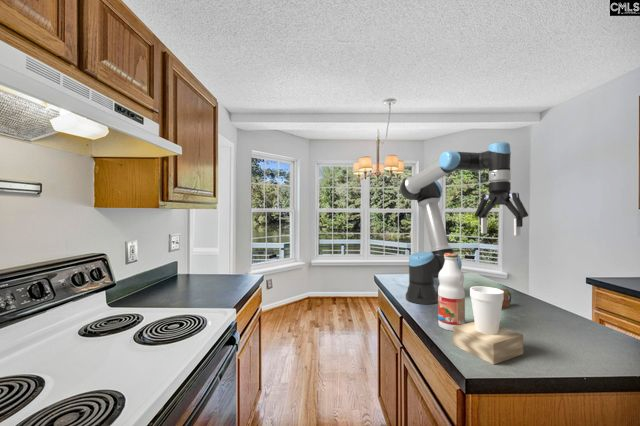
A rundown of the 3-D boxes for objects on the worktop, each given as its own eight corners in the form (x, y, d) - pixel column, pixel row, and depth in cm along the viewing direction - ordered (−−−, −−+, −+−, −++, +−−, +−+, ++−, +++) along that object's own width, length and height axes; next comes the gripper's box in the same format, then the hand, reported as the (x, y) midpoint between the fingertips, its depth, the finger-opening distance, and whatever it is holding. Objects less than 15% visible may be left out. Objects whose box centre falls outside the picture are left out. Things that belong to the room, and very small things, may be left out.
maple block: (453, 344, 97) (452, 326, 97) (481, 336, 103) (481, 319, 103) (493, 364, 85) (493, 343, 85) (523, 354, 91) (523, 334, 91)
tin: (491, 311, 129) (491, 292, 129) (485, 309, 131) (484, 291, 131) (512, 306, 136) (511, 288, 136) (505, 304, 138) (504, 286, 138)
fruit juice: (469, 331, 108) (469, 255, 108) (444, 332, 108) (443, 255, 108) (458, 322, 117) (457, 252, 117) (434, 322, 117) (433, 252, 117)
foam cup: (503, 339, 88) (503, 295, 87) (469, 332, 92) (468, 291, 92) (503, 328, 96) (503, 288, 96) (471, 322, 100) (471, 284, 100)
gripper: (465, 184, 128) (466, 232, 128) (526, 177, 105) (527, 237, 106) (477, 184, 131) (477, 232, 131) (538, 178, 109) (539, 236, 109)
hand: (499, 234), depth 118 cm, fingers open, 13 cm apart
